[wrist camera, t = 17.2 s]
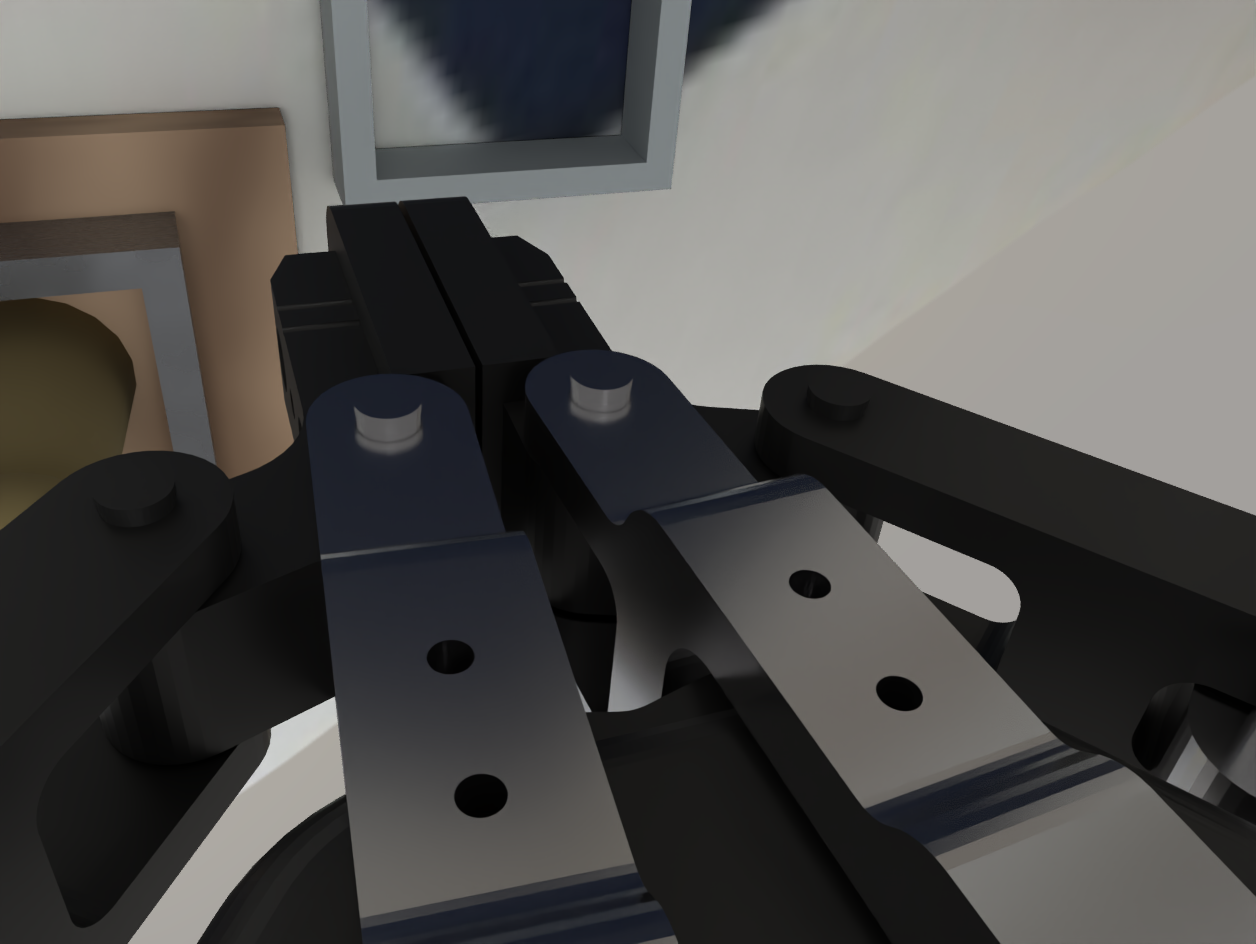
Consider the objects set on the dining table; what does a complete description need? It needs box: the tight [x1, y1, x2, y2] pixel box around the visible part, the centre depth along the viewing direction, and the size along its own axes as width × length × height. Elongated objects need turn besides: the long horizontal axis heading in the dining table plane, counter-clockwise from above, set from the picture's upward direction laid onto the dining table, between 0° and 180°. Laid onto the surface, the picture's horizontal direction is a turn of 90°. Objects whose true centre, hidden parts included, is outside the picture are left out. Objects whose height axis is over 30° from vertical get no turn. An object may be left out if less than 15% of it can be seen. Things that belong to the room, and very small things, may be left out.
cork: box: [0, 298, 137, 530], centre depth 32 cm, size 6×6×11 cm
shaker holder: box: [320, 0, 692, 205], centre depth 35 cm, size 11×11×2 cm
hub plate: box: [0, 108, 298, 479], centre depth 37 cm, size 18×16×2 cm
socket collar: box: [0, 211, 217, 466], centre depth 35 cm, size 11×11×2 cm
